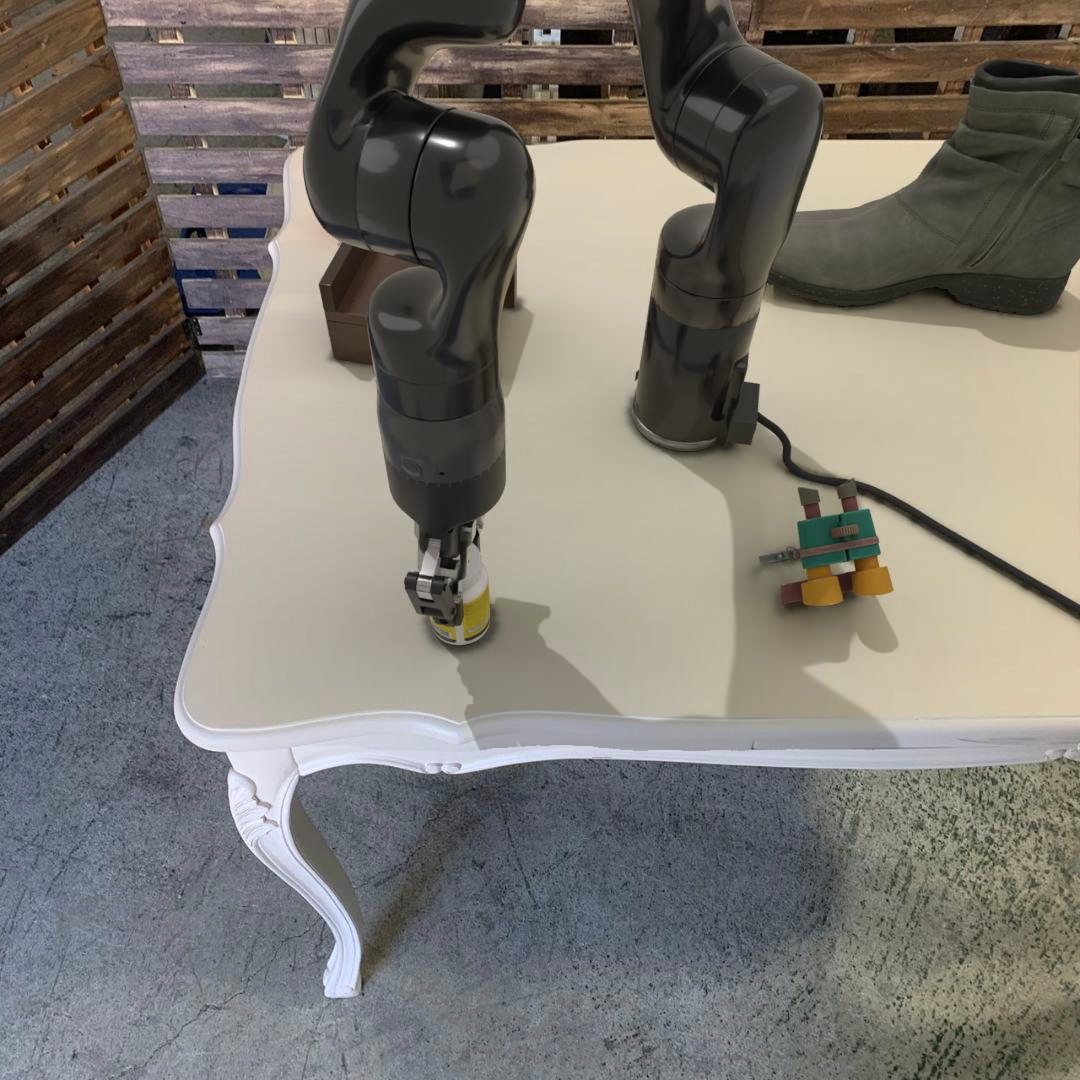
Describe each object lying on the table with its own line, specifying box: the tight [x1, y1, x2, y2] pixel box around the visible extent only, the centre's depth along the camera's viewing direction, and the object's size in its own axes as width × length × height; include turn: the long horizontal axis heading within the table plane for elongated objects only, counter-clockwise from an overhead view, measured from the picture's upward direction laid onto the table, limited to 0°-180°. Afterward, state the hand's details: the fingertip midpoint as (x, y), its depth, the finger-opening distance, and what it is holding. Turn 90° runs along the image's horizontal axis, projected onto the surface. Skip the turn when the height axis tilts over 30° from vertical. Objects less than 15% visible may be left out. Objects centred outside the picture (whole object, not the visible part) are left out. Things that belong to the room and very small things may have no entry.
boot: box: [767, 58, 1080, 316], centre depth 91 cm, size 12×37×24 cm, turn 87°
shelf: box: [318, 242, 518, 365], centre depth 89 cm, size 16×13×9 cm
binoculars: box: [758, 477, 894, 607], centre depth 71 cm, size 9×9×10 cm
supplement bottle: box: [429, 543, 491, 646], centre depth 68 cm, size 5×5×8 cm
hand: (457, 590), depth 68 cm, fingers closed on supplement bottle, 4 cm apart
